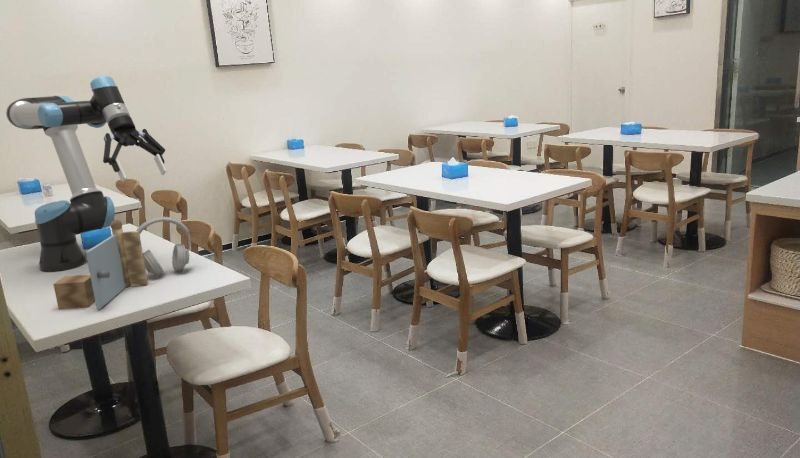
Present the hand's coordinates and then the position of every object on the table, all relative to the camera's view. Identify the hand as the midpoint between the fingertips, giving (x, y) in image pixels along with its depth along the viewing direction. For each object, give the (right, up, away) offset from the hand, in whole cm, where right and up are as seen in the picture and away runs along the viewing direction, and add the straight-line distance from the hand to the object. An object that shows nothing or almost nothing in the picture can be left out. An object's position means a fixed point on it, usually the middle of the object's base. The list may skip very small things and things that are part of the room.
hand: (144, 176), depth 198 cm
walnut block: (-15, -40, -13) cm, 44 cm away
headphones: (+3, -33, +12) cm, 35 cm away
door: (-4, -38, -10) cm, 40 cm away
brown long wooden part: (-4, -36, +1) cm, 36 cm away
